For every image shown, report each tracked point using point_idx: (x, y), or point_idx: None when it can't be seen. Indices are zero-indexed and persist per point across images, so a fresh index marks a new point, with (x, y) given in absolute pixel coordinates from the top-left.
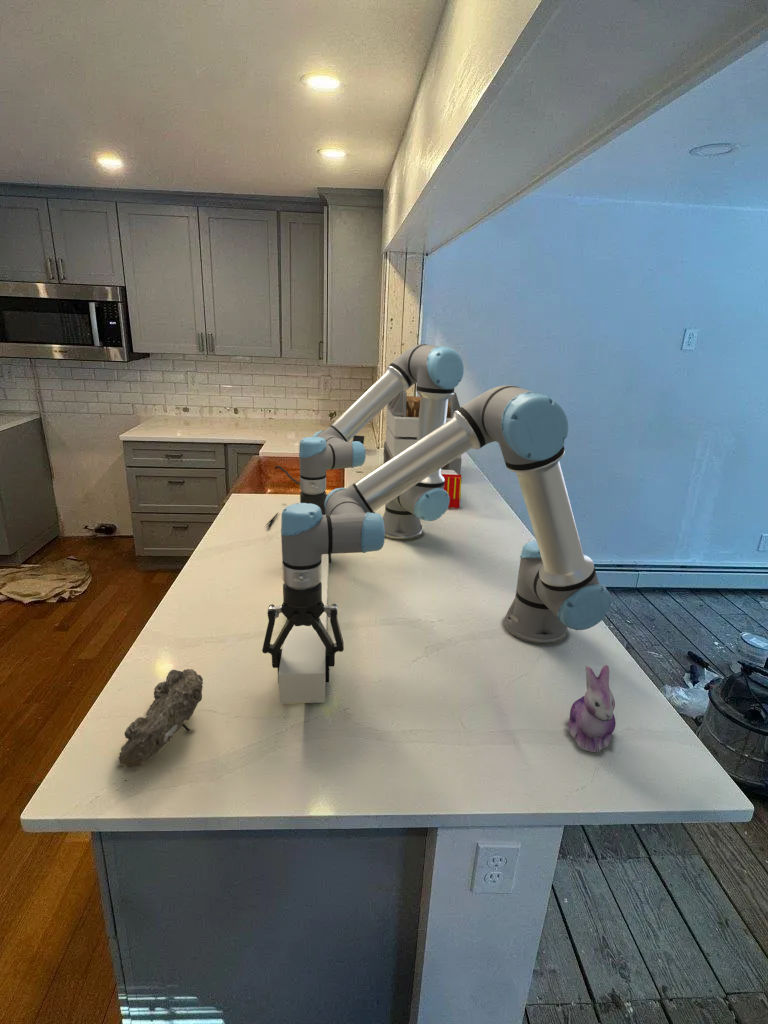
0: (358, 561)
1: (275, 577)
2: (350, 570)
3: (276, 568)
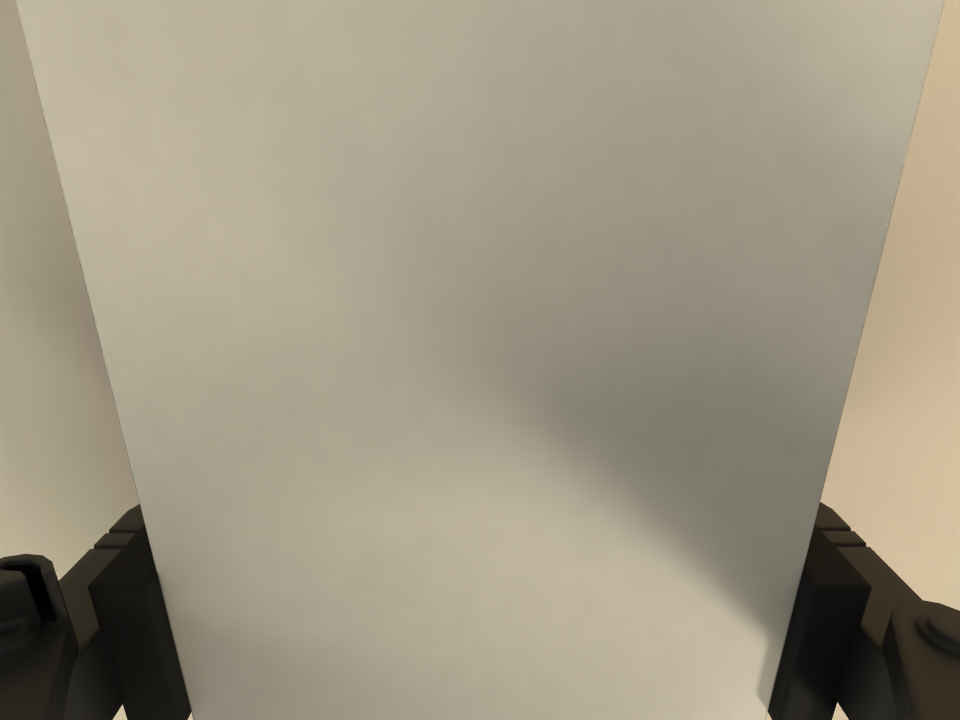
0: (21, 518)
1: (956, 108)
2: (52, 311)
3: (900, 357)
